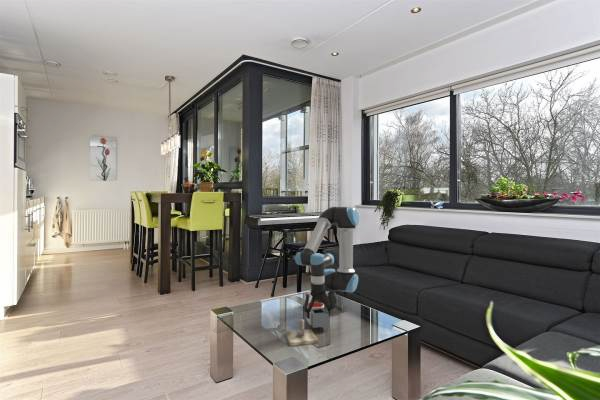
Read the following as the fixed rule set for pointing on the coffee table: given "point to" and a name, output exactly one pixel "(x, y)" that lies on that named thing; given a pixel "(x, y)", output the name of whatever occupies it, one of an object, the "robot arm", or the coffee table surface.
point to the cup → (316, 305)
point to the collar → (319, 317)
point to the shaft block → (301, 335)
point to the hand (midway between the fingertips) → (318, 323)
